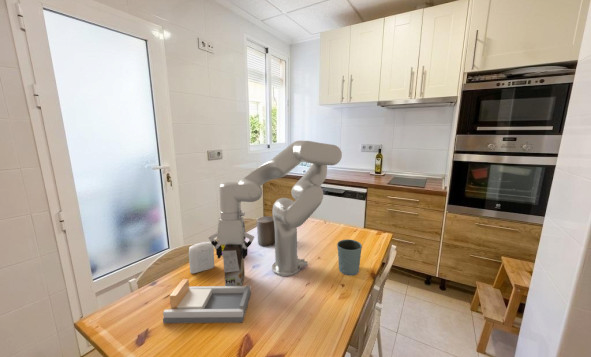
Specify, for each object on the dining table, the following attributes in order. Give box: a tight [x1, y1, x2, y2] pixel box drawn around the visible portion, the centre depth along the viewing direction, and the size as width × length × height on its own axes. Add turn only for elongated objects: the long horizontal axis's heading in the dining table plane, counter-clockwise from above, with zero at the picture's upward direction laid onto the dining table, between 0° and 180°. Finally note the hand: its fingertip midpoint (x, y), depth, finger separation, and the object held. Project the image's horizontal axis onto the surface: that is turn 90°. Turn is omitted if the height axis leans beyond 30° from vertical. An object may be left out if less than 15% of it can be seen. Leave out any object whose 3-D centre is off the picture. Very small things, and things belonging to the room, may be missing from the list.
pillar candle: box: [256, 216, 275, 248], centre depth 130 cm, size 10×10×15 cm
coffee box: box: [222, 245, 246, 286], centre depth 94 cm, size 9×6×16 cm
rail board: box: [162, 284, 252, 324], centre depth 81 cm, size 25×14×4 cm, turn 90°
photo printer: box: [188, 241, 215, 275], centre depth 105 cm, size 10×4×12 cm, turn 123°
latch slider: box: [169, 278, 212, 309], centre depth 81 cm, size 10×9×6 cm
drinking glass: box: [336, 239, 363, 277], centre depth 102 cm, size 10×10×12 cm
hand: (232, 257), depth 93 cm, fingers open, 9 cm apart
